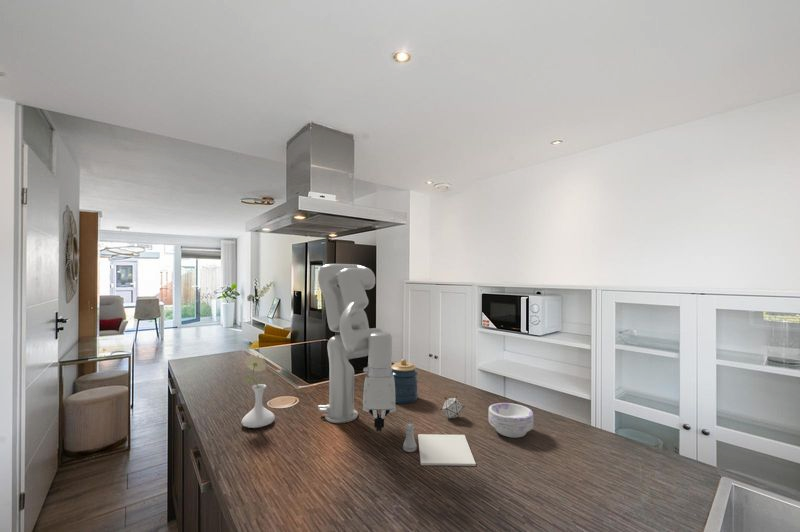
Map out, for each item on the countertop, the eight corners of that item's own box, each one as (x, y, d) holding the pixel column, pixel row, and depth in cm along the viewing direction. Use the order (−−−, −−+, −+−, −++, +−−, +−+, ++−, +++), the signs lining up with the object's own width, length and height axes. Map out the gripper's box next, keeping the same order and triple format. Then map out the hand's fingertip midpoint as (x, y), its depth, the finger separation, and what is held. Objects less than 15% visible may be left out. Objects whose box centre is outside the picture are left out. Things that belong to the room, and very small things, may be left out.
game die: (456, 429, 132) (464, 414, 126) (435, 419, 134) (442, 404, 128) (461, 410, 139) (469, 396, 134) (441, 401, 141) (448, 386, 135)
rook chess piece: (402, 446, 112) (402, 421, 112) (415, 445, 112) (416, 420, 112) (403, 453, 107) (403, 427, 107) (417, 452, 108) (417, 426, 108)
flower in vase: (281, 421, 129) (282, 354, 130) (257, 433, 119) (258, 361, 120) (256, 414, 135) (257, 350, 135) (230, 426, 125) (232, 356, 125)
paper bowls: (501, 419, 133) (501, 398, 133) (540, 432, 122) (540, 409, 122) (480, 431, 122) (480, 409, 123) (520, 447, 112) (520, 422, 112)
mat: (420, 465, 101) (420, 462, 101) (417, 435, 119) (418, 434, 119) (475, 465, 100) (475, 463, 100) (464, 436, 118) (464, 434, 118)
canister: (383, 401, 150) (384, 360, 150) (395, 392, 162) (395, 354, 162) (411, 406, 145) (412, 364, 146) (421, 396, 157) (421, 357, 158)
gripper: (354, 374, 106) (354, 434, 106) (403, 375, 106) (402, 435, 106) (358, 368, 114) (357, 424, 114) (403, 368, 114) (402, 424, 113)
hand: (379, 429), depth 110 cm, fingers closed
